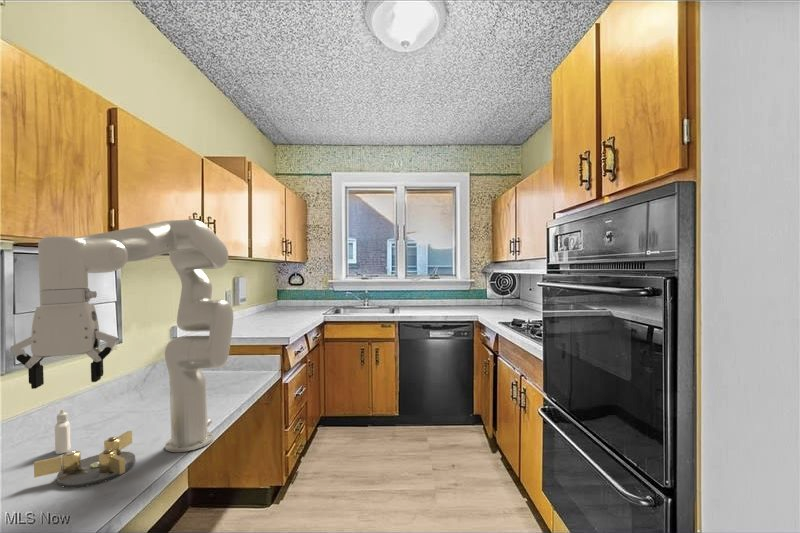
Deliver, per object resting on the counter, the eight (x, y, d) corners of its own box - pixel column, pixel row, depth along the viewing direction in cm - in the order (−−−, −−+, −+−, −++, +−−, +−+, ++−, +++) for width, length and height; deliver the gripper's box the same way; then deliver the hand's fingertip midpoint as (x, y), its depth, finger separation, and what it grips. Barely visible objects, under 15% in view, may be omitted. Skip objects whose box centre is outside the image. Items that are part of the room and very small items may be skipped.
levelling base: (91, 458, 112) (90, 448, 112) (148, 456, 112) (148, 446, 112) (39, 488, 96) (38, 478, 96) (106, 486, 96) (105, 475, 96)
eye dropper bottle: (77, 446, 120) (76, 405, 121) (64, 454, 115) (64, 412, 115) (61, 447, 120) (60, 407, 120) (47, 456, 114) (46, 413, 114)
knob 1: (82, 465, 103) (81, 447, 104) (79, 471, 100) (78, 452, 100) (37, 475, 99) (36, 456, 99) (32, 481, 96) (32, 461, 96)
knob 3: (96, 470, 100) (95, 451, 100) (112, 464, 103) (112, 446, 103) (114, 478, 96) (113, 458, 96) (130, 471, 99) (130, 452, 99)
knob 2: (114, 458, 107) (114, 440, 107) (101, 458, 107) (100, 441, 107) (136, 444, 116) (136, 427, 116) (124, 444, 116) (123, 428, 116)
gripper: (121, 295, 87) (123, 374, 87) (20, 299, 82) (23, 384, 81) (109, 296, 80) (112, 382, 80) (-2, 302, 74) (1, 395, 74)
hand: (67, 383), depth 81 cm, fingers open, 9 cm apart
